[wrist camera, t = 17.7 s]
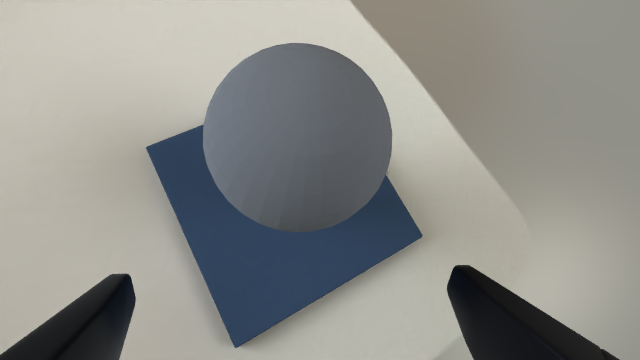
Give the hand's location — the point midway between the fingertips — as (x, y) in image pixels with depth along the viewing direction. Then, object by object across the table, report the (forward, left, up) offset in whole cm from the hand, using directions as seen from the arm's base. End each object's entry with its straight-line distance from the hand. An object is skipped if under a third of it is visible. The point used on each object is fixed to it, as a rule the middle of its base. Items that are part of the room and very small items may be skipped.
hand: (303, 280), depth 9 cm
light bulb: (+4, -2, -8) cm, 9 cm away
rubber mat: (+4, -2, -8) cm, 9 cm away
